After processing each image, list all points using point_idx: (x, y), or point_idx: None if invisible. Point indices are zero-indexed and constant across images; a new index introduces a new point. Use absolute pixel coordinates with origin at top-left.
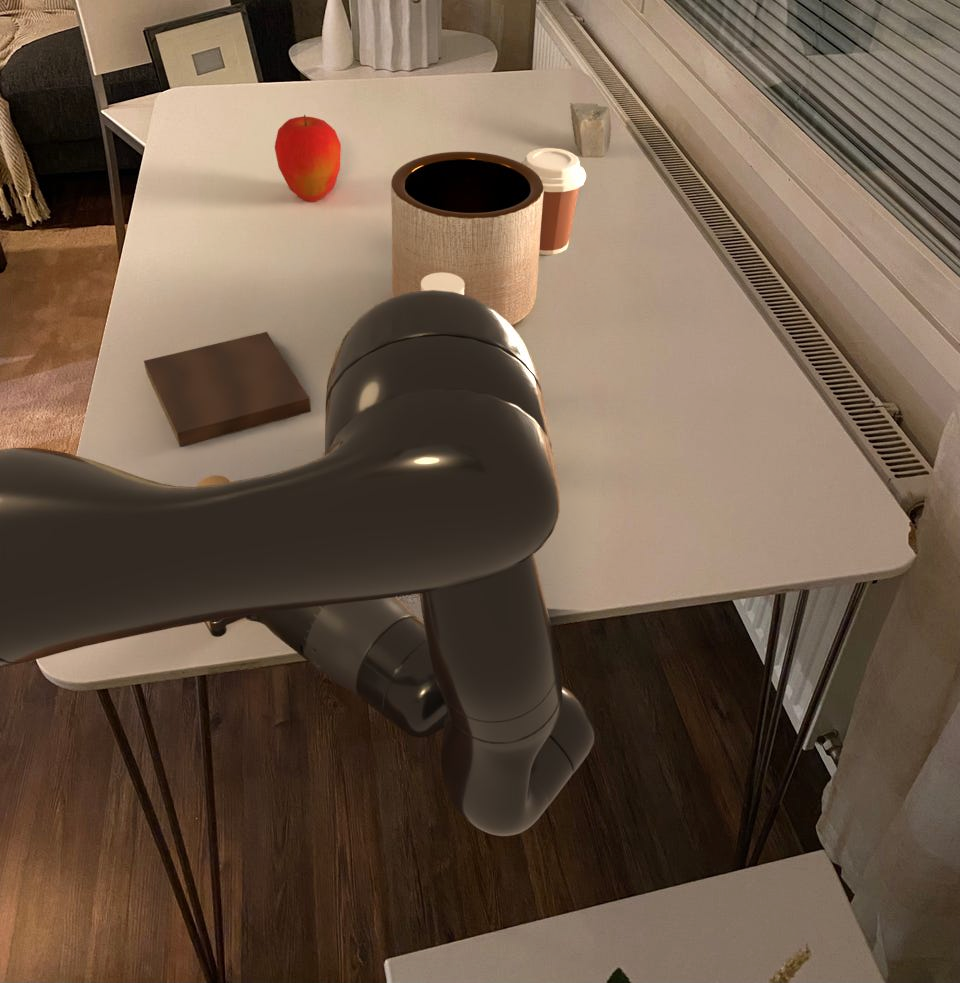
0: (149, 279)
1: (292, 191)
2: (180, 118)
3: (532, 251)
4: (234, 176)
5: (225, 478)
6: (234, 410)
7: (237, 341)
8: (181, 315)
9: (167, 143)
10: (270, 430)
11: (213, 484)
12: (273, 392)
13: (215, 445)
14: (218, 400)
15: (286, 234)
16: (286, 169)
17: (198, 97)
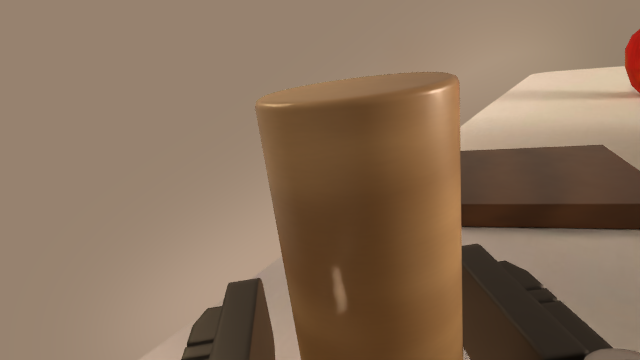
0: (482, 124)
1: (636, 86)
2: (538, 78)
3: None
4: (575, 91)
5: (439, 73)
6: (539, 197)
7: (560, 148)
8: (501, 140)
9: (525, 84)
10: (596, 237)
11: (357, 82)
12: (610, 189)
13: (497, 235)
14: (518, 185)
15: (626, 109)
16: (635, 62)
17: (554, 73)
